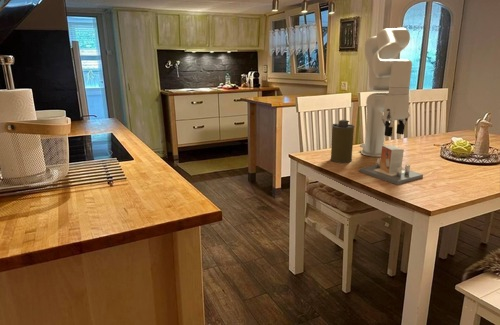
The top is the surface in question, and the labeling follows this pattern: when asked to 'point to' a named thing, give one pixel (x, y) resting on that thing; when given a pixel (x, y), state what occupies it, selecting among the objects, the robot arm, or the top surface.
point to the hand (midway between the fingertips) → (394, 134)
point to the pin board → (390, 175)
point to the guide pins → (399, 169)
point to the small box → (391, 158)
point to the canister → (342, 142)
